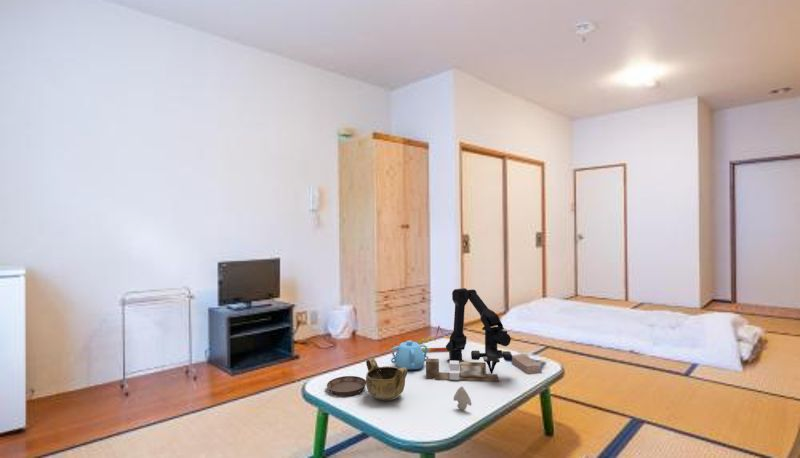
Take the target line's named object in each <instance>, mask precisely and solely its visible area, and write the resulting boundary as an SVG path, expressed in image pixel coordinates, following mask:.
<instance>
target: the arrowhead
mask: <svg viewBox="0 0 800 458" xmlns="http://www.w3.org/2000/svg"><path fill="white" fill-rule="evenodd" d="M453 401H454V402H455V401H457V403H458V404H457V405H456V407H457V408H458V409H459V410H461V411H465V410H466V409H467V406H470V407H471V406H472V401H471V397H470V396H469V394H468V392H467V391H466V389H465V388H464V386H461V385H460V387H459V388H458V389H457V391H456V392H455V394H454V395H453Z"/></svg>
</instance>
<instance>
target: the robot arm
mask: <svg viewBox="0 0 800 458" xmlns="http://www.w3.org/2000/svg"><path fill="white" fill-rule="evenodd" d="M451 298H452V302H453V304H454V315H453V316H454V318H453V319H454V321H453V331H452V332H451V334H450V335H449V336H450V338H449V339H448V340H449V342H447V344H446V345H445V348H446V350H448V351H449V352H448V353H449V354H448V355H449V357H448V358H449V359H447V362H449V363H450V361H459V364H460V362H465V360H464V359H463V353H462V352H463V350H465V347H466V344H467V338H468V337H467V336H466V335H465V334H464V322H465V307H466V305H467V304H468V301H469V302H470V303H471V304H472V306H473V307H474V308H475V310H476V311H477V313H478V314H479V316H480V322H481V323H482V324H483V326H482V328H481V330H482V331H484V352H480V350H471V352H470V357H471V358H470V359H471V360H473V361H479V360H480V359H481V358H483V363H486V365H487V367H488V368H489V369H488V370H489V372H490V373H489V374H494V373H493V372H494V370H495V367H496V365H497V364H498V363H500V359H503V360H504V361H506V362H507V361H508V362H509V361H511V362H512V356H513V354H512V353H511V351H510V350H507V351H506V350H505V351H504V350H502V349H498V345H500V346H502V347H508V346H509V345H510V344H511V340H512V338H511V335H510V334H509V333H508V330H505V328H504V324H503V323H502V321H501V319H500V316H499V315H498V314H497V313H496V312H495V311H494V310H491V309H490V308H489V307H488V306H487V305H486V304H485V302H484V301H483V299H481V297H480V296H479V294H478V293H477V290H475V289H467V288H465V287H462V288H455V289H453V290H452V293H451Z"/></svg>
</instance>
